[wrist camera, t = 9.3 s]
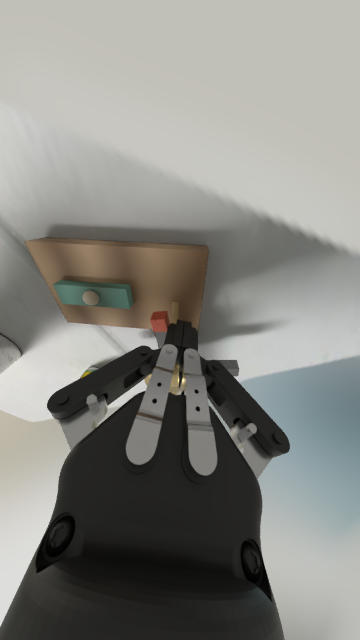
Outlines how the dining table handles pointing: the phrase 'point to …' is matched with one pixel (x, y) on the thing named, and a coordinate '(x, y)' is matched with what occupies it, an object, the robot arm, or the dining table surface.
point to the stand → (122, 280)
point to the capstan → (160, 328)
